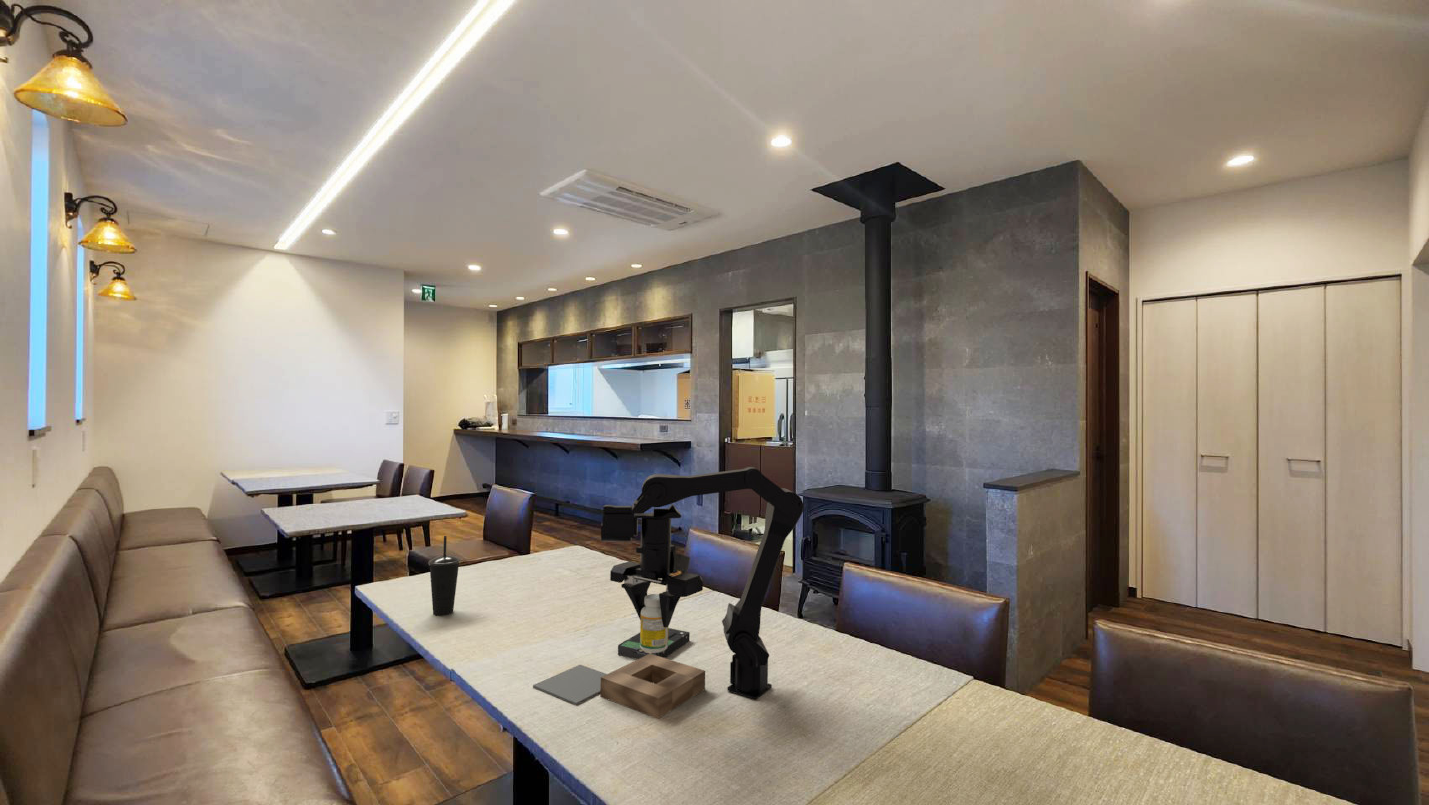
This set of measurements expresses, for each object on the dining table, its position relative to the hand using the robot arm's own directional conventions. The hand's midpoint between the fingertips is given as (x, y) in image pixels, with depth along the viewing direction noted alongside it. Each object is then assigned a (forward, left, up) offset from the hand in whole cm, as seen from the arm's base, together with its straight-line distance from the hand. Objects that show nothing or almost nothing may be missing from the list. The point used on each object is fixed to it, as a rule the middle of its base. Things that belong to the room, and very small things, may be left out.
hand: (654, 623), depth 112 cm
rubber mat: (+14, +6, -13) cm, 20 cm away
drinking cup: (+74, -2, -13) cm, 75 cm away
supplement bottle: (0, 0, -5) cm, 5 cm away
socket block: (0, 0, -13) cm, 13 cm away
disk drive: (+14, -17, -14) cm, 26 cm away
